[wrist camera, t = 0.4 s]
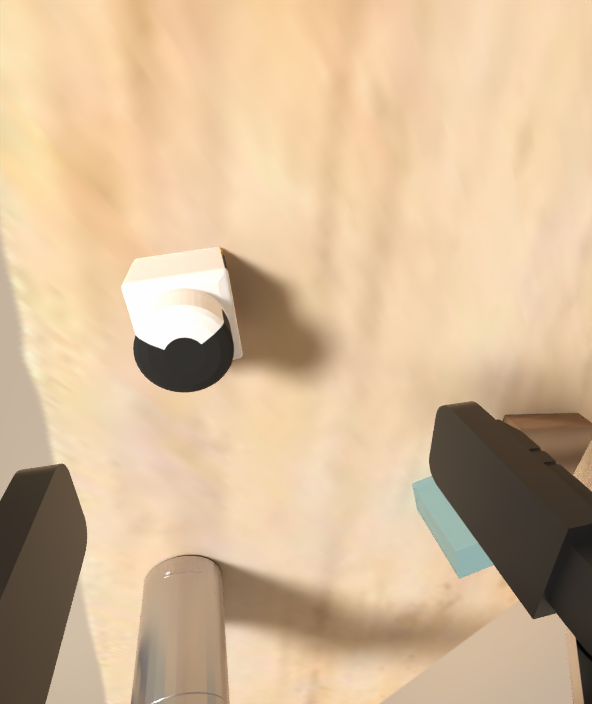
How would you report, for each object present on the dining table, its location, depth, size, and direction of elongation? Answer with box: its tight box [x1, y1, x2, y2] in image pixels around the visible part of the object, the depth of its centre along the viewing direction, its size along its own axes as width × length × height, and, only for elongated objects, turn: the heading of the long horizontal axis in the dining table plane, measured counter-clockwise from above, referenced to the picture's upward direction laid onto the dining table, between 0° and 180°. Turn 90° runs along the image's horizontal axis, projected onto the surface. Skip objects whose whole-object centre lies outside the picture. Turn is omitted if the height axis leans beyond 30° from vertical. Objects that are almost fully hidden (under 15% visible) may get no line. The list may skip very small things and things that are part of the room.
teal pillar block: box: [412, 476, 494, 579], centre depth 50 cm, size 5×5×10 cm
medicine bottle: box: [121, 247, 243, 392], centre depth 30 cm, size 7×7×12 cm
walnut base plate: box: [503, 413, 592, 475], centre depth 53 cm, size 11×11×3 cm
